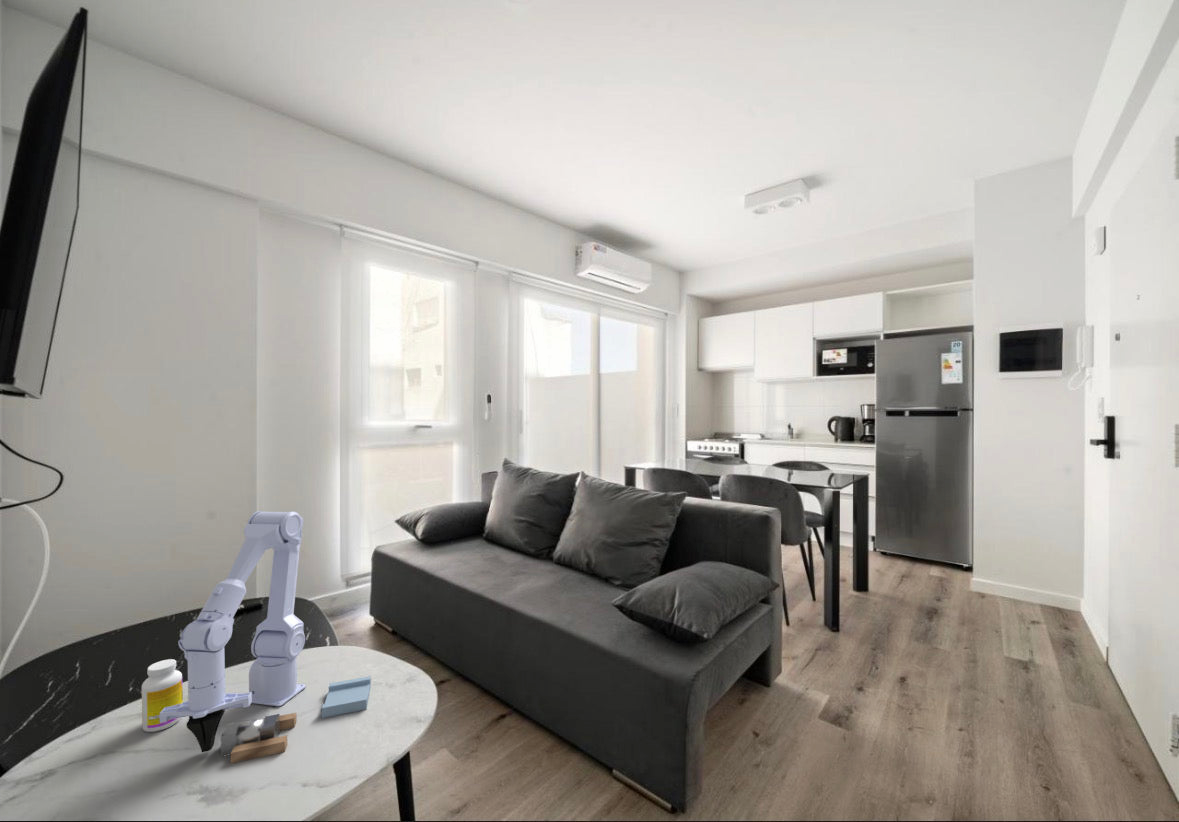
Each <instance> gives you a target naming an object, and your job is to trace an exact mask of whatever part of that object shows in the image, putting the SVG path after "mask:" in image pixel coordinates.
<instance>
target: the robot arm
mask: <svg viewBox="0 0 1179 822" xmlns="http://www.w3.org/2000/svg"><path fill="white" fill-rule="evenodd" d="M303 529H304V518H303V517H302V516H301V515H300V514H299V513H298V512H297V511H263V510H258V511H255V512H253V514H251V515H250V517H249V518H248V520H247V523H246V525H245V526H244V528H243V534H244V537H245V538H244V541H243V543H242V545H241V547H240V549H239V552H238V554H237V556H236V558H235V560H234V562H233V565H232V566H231V569H230V571H229V573H228V576H227V577H226V579H224V580H222V581H220V582H218V583H217V584H215V587H214V588H213V590H212V592H211V594H210V595H209V597H208V599H207V600H206V602H205V604H204V606H203V607H202V609H201V611H200V612H199V615H198V616H197V617H196V619H194V620H193V621H192V622H190V623H189V624H187V625H186V626H185V628H184V629H183V631H181V634H180V639H179V640H178V641H177V642H178V648H179V649H180V650H181V651H183V652H184V659H185V660H186V661H187V689H188V690H187V693H188V695H187V696H188V697H187V698H188V700H187V701H183V703H181V704H177V705H174V706H170V707H165V708H164V709H163V710H162V711H161V712H160V723H164V722H167V721H168V720H170V719H176V718H181V717H182V718H185V717H188V721H187V722H186V728H187V729H188V730H189V731H190V732H191V733H192V734H193V736H195V739H196V741H197V743H198V744H199V748H200V750H201V753H207V752H210V751H211V750H212V749H213V747H214V745H215V740H216V735H217V731H218V728H219V725H220V723H221V720H222V718H223V717H224V716H223V715H224V714H225V712H226V710H229V709H235V708H240V707H242V709H243V708H244V709H245V708H249V707H250V705H251V704H256V705H264V706H274V707H281V706H283V705H284V704H286V703H287V702H288V701H290V700H291V699H293V698H294V697H295V696H296V695H298V694H299V693H301V692H302V691H303V690H305V689H306V687H307V685H306V684H301V683H298V665H297V664H298V663H297V661H298V660H297V659H298V658H297V657H298V656H299V655H300V653H302V651H303V649H304V646H305V643H306V636H305V633H304V626H305V625H304V622H303V621H302V620H301V619H300V618H299V617H297V616H296V614H294V612H295V603H296V602H295V601H296V593H297V592H296V591H297V581H298V570H299V562H300V550H301V544H302V540H303ZM269 549H272V550H273V555H272V556H273V557H272V567H271V574H270V575H271V576H270V586H269V595H268V604H267V615H266V619H264V620H263V621H262V622H260V623H259V624H258V625H257V626H256V630H255V635H254V637H253V639H252V641H251V646H250V647H251V648H250V650H251V654H252V656H253V657H255V658H256V659H254V661H253V663H251V666H250V667H249V672H248V692H241V693H240V692H239V693H238V692H236V693H235V692H234V693H233V692H231V693H230V692H229V693H228V692H226V672H225V671H226V669H225V668H226V665H225V664H226V663H225V657H226V656H225V646H226V644H228V643H229V641H230V639H231V638H232V635H233V630H234V629H233V625H234V623H235V618H234V617H235V615H236V613H237V611H238V609H239V607H240V605H241V603H242V602H243V600H244V598H245V595H246V594H247V592H248V591H247V587H246V584H245V583H246V582H247V580H248V579H249V577H250V576H251V574H252V572H253V571H254V569H255V567H256V566H257V564H258V563H259V561H260V559H261V558H262V556H263V555H264V554H265V552H266V550H269ZM182 718H181V719H182Z"/></svg>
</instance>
